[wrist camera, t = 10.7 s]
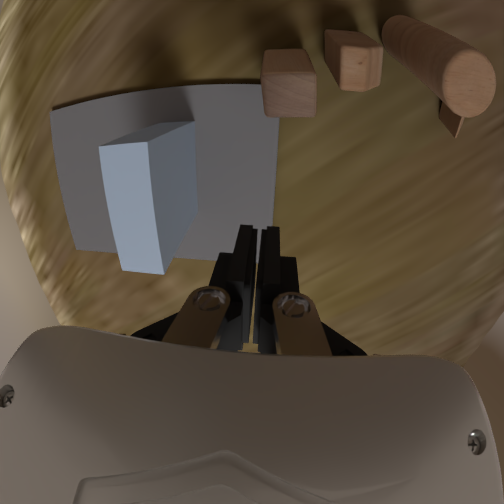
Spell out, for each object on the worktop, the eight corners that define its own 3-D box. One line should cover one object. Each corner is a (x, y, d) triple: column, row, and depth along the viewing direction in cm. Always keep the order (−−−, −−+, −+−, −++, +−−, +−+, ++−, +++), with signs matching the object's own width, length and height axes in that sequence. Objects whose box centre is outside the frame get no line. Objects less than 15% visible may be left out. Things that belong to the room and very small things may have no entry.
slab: (159, 122, 20) (98, 146, 12) (195, 121, 19) (147, 141, 12) (166, 210, 24) (122, 270, 16) (198, 212, 24) (164, 274, 16)
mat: (52, 111, 19) (49, 112, 18) (280, 85, 18) (280, 85, 18) (78, 247, 28) (76, 249, 27) (269, 261, 27) (269, 264, 26)
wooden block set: (269, 95, 21) (265, 168, 15) (259, 3, 13) (246, 14, 8) (453, 113, 18) (508, 187, 13) (470, 37, 11) (549, 91, 5)
